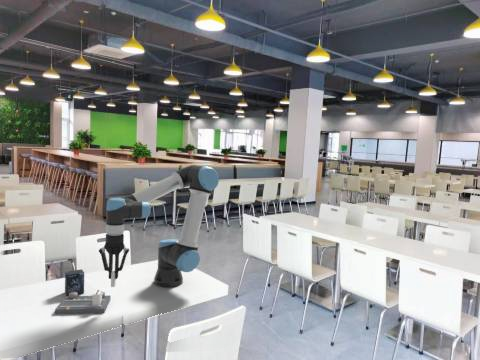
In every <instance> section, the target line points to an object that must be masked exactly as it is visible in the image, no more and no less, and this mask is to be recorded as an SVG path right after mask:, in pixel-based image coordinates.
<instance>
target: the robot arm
mask: <svg viewBox="0 0 480 360" xmlns="http://www.w3.org/2000/svg"><path fill="white" fill-rule="evenodd" d="M219 178H220V177H219V174H218V172H217V171H216V169H214V168H213V167H210V166H207V165H197V164H191V165H187V166H185V167H183V168H180V169H179V170H176V171H174V172H172V173H171V175H169V176H168V177H165V178H163V179H161V180H159V181H158V182H155V183H153V184H151V185H149V186H146V187H144V188H141V189H140V190H138V191H136V192H134V193H131V194H129V195H127V196H125V197H124V196H120V197H110V198H108V200H107V201H106V209H105V210H106V213H105V214H106V223H105V233H106V234H105V244H104V245H103V247H100V248H99V249H98V252H99V255H101V260H102V264H103V269H104V271H105V272H108V279H109V280H110V287H111V288H114V287H115V286H116V280H117V279H118V278H119V272H121V271H122V270H123V268H124V265H125V263H126V262H125V261H126V258H127V256H128V254H129V252H130V248H127V247H125V246H126V245H125V244H124V237H125V235H124V232H125V220H136V219H145V218H146V219H147V218H148V217H150V215H151V210H152V207H151V205H150V203H151V202H153V201H155V200H157V199H159V198H162V197H163V196H165V195H167V194H170V193H171V192H173V191H176V190H177V189H178V190H182V189H185V188H187V187H189V188H188V191H189V192H190V197H189V201H188V205H187V207H186V208H187V209H186V213H185V217H184V220H183V221H184V222H183V223H182V224H183V225H182V229H181V233H180V236H179V238H170V239H162V240H160V241H159V242H158V246H157V249H158V250H157V269H156V271H155V275H154V278H153V283H154V285H155V286H157V287H163V288H173V287H176V286H180V285H182V284H183V283H184V282H183V280H184V277H183V274H182V272H184V273H191V272H193V271H194V270H195V269H196V268H197V267H198V266H199V264H200V261H201V255H200V253H199V252H198V250H199V244H198V243H197V242H198V237H199V232H200V228H201V225H202V221H203V217H204V212H205V208H206V204H207V200H208V197H209V196H211V195H212V192H213V190H215V189H216V188H217V187H218V185H219V181H220V180H219ZM122 251H123V255H122V259H121V261H120V254H121V252H122ZM106 252H107V254H108V258H107V255H106ZM107 259H108V261H107ZM114 259H115V260H114ZM113 264H114V266H113ZM113 267H114V269H113Z"/></svg>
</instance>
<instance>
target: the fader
mask: <svg viewBox="0 0 480 360" xmlns="http://www.w3.org/2000/svg"><path fill="white" fill-rule="evenodd" d="M102 292H103V290H102V289H95V290H94V291H93V292H92V296H93V300H92V306H97V305H100V304H101V302H102Z"/></svg>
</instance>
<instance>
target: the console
mask: <svg viewBox="0 0 480 360" xmlns="http://www.w3.org/2000/svg"><path fill="white" fill-rule="evenodd" d="M111 298H112V297H111V295H106V292H105V291H102V302H101V304H100V305H97V306H92V300H93V295H79V294H78V293H77V292H71V293H69V296H66V295H65V296H64V297H63V298H62V300H61V301H60V302H59V304H58V305H57V306H56V308H55V309H54V315H69V314H70V315H71V314H72V315H73V314H76V315H77V314H105V312H106V311H107V308H108V305H109V303H110V302H111Z"/></svg>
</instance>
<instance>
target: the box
mask: <svg viewBox="0 0 480 360" xmlns="http://www.w3.org/2000/svg"><path fill="white" fill-rule="evenodd" d="M64 273H65V274H64V293H65V296H69V293H71V292H77V293H78V295H81V294H85V272H84V270H83V269H74V270H68V271H65V272H64Z"/></svg>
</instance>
